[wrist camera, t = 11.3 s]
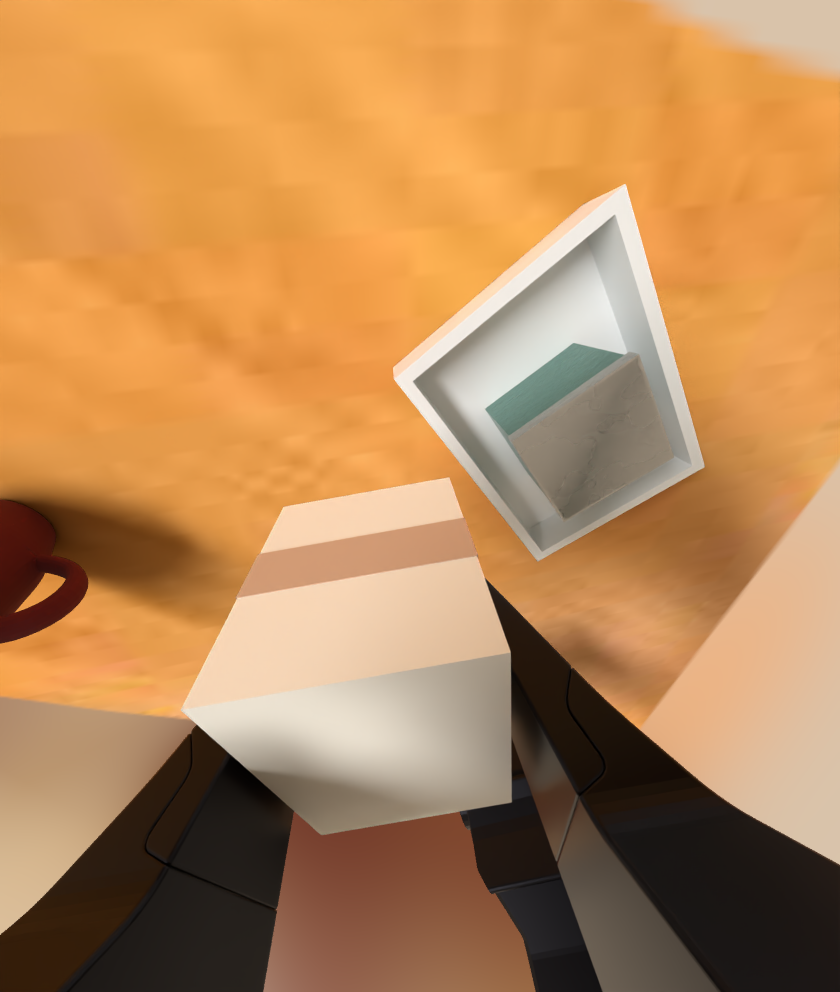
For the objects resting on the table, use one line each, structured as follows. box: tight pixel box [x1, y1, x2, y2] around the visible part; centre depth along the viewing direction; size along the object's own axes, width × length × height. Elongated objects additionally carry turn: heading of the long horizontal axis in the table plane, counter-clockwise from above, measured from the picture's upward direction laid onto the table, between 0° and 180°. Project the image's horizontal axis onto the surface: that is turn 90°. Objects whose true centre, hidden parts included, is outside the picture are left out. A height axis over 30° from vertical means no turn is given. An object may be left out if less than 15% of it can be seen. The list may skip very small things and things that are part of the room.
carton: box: [181, 477, 512, 835], centre depth 8 cm, size 6×4×5 cm
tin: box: [485, 343, 674, 522], centre depth 17 cm, size 6×6×5 cm
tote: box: [393, 184, 705, 561], centre depth 18 cm, size 15×11×3 cm
